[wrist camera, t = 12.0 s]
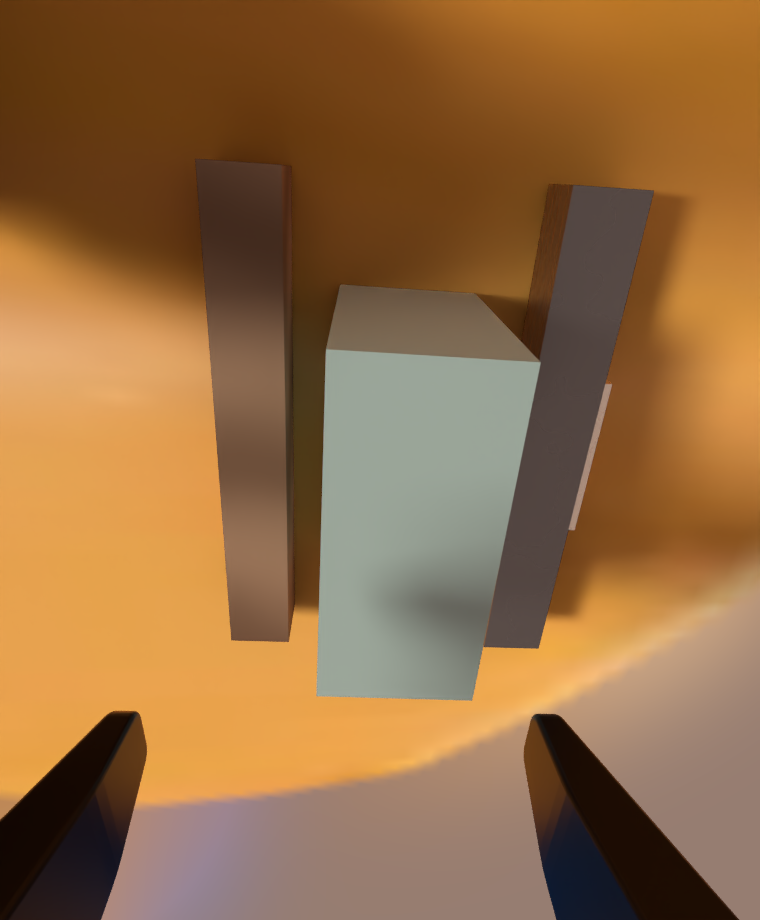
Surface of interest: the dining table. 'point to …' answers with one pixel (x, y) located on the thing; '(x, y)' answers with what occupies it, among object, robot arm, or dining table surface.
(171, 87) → the dining table surface
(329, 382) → the box
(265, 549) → the shelf ledge
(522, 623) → the rail
